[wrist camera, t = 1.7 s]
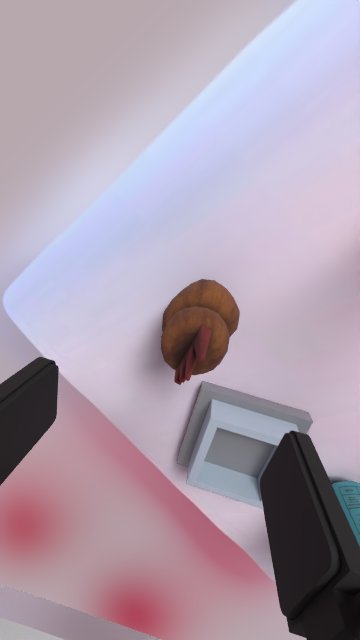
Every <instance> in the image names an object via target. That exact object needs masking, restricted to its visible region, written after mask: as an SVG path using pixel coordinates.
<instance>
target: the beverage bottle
mask: <svg viewBox="0 0 360 640" xmlns="http://www.w3.org/2000/svg"><path fill="white" fill-rule="evenodd" d="M332 487H333V489H334V491H335V493H336V495H337V498H338V500H339V502H340V504H341V506H342V509H343V511H344V513H345V515H346V517H347V520H348V522H349V524H350V526H351V528H352V530H353V533H354V535H355V537H356V539H357V541H358V544H359V546H360V483H357V482H350V481H343V482H337V483H333V484H332Z"/></svg>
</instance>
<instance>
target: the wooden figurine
mask: <svg viewBox="0 0 360 640" xmlns="http://www.w3.org/2000/svg"><path fill="white" fill-rule="evenodd" d="M239 313H240V312H239V309H238V306H237V304H236V302H235V300H234V298H233V296H232V295H231V294H230V293H229V291H228V290H227V289H226V288H225V287H223V286H222V285H220V284H219V283H217V282H216V281H214V280H205V279H201V280H199V281H197V282H194V283H192V284H190V285H189V286H188V287H186V288H185V289H183V290H182V291H181V292H180V293H179V294H178V295H177V296H175V297H174V298H173V300H172V301H171V302H170V304H169V305H168V307H167V308H166V310H165V311H164V314H163V323H162V330H163V334H162V340H161V350H162V354H163V357H164V360H165V362H166V363H167V364H168V365H169V366H170V367H171V368H172V369H174V370H176V372H175V382H176V383H177V384H179V385H180V384H181V383H182V382H183V383H184V381H185V380H187V381H189V379H190V377H191V375H197V374H204V373H206V372H209V371H211V370H213V369H214V368H215V367H216V366H217V365H219V364H220V362H221V361H222V359H223V357H224V356H225V354H226V352H227V350H228V344H229V337H230V336H231V335H232V334H233V333H234V332H235V330H236V329H237V326H238V321H239Z"/></svg>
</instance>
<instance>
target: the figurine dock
mask: <svg viewBox="0 0 360 640" xmlns="http://www.w3.org/2000/svg"><path fill="white" fill-rule="evenodd" d="M312 423H313V421H312V419H311V417H310V415H309V413H308V412H305V411H301V410H298V409H295V408H291V407H288V406H285V405H281V404H278V403H275V402H271V401H268V400H265V399H261V398H258V397H255V396H251V395H248V394H245V393H241V392H238V391H234V390H231V389H228V388H224V387H221V386H218V385H214V384H211V383H208V382H204V381H203V382H202V385H201V388H200V391H199V394H198V397H197V400H196V403H195V406H194V409H193V412H192V415H191V418H190V421H189V424H188V427H187V430H186V433H185V436H184V439H183V443H182V446H181V449H180V452H179V455H178V460H177V464H180V465H183V466H187V467H188V474H187V482H186V484H188V485H191V486H194V487H198V488H201V489H204V490H207V491H210V492H213V493H216V494H219V495H222V496H225V497H228V498H231V499H234V500H237V501H240V502H243V503H246V504H249V505H252V506H255V507H258V508H261V509H263V503H262V498H261V492H260V478H261V476H262V474H263V472H264V470H265V469H266V467H267V465H268V463H269V461H270V459H271V458H272V456H273V454H274V452H275V450H276V449H277V447H278V445H279V443H280V441H281V439H282V438H283V436H284V434H285V433H289V432H290V431H291V430H293V431H297V432H300V433H304V434H306V433H307V431H308V429H309V428H310V426H311V424H312Z"/></svg>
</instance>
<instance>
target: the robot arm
mask: <svg viewBox="0 0 360 640" xmlns="http://www.w3.org/2000/svg"><path fill="white" fill-rule="evenodd" d="M57 392H58V366H57V365H56V363H55V361H53V360H50V359H46V358H43V357H39V358H37V359H35V360H34V361H32V362H31V363H30V364H28V365H27V366H25V367H24V368H22V369H21V370H20V371H18V372H17V373H15V374H14V375H13V376H11V377H10V378H8V379H7V380H5V381H4V382H3V383H1V384H0V485H1V484H2V483H3V482H4V481H5V479H6V478H7V477H8V476H9V475H10V473H11V472H12V471H13V470H14V469H15V468H16V466H17V465H18V464H19V463H20V462H21V461H22V459H23V458H24V457H25V456H26V455H27V453H28V452H29V451H30V450H31V449H32V448H33V446H34V445H35V444H36V443H37V442H38V440H39V439H40V438H41V437H42V436H43V435H44V433H45V432H46V431H47V430H48V429H49V428H50V426H51V425H52V424H53V422H54V421H55V419H56V415H57ZM260 492H261V498H262V503H263V509H264V515H265V521H266V527H267V533H268V539H269V544H270V550H271V556H272V562H273V568H274V574H275V580H276V585H277V591H278V597H279V603H280V608H281V611H282V613H283V615H284V616H286V617H287V622H288V627H289V632H290V633H293V634H296V635H299V636H302V637H305V638H307V640H360V546H359V544H358V541H357V539H356V537H355V535H354V533H353V530H352V528H351V526H350V524H349V522H348V520H347V517H346V515H345V513H344V511H343V509H342V506H341V504H340V502H339V500H338V498H337V495H336V493H335V491H334V489H333V487H332V484H331V482H330V480H329V478H328V476H327V473H326V471H325V469H324V467H323V465H322V463H321V460H320V458H319V456H318V454H317V452H316V449H315V447H314V445H313V443H312V441H311V438H310V437H309V436H308V435H307V434H304V433H300V432H297V431H293V430H291V431H290V432H289V433H285V434H284V436H283V438H282V439H281V441H280V443H279V445H278V447H277V449H276V450H275V452H274V454H273V456H272V458H271V459H270V461H269V463H268V465H267V467H266V469H265V470H264V472H263V474H262V476H261V478H260ZM0 640H162V639H159V638H156V637H154V636H151V635H148V634H144V633H142V632H139V631H136V630H133V629H130V628H127V627H124V626H122V625H118V624H116V623H113V622H110V621H107V620H104V619H101V618H98V617H95V616H93V615H90V614H87V613H84V612H81V611H78V610H75V609H72V608H69V607H66V606H63V605H61V604H58V603H55V602H52V601H49V600H46V599H43V598H40V597H37V596H34V595H31V594H28V593H25V592H22V591H19V590H16V589H13V588H10V587H7V586H4V585H1V584H0Z"/></svg>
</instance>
